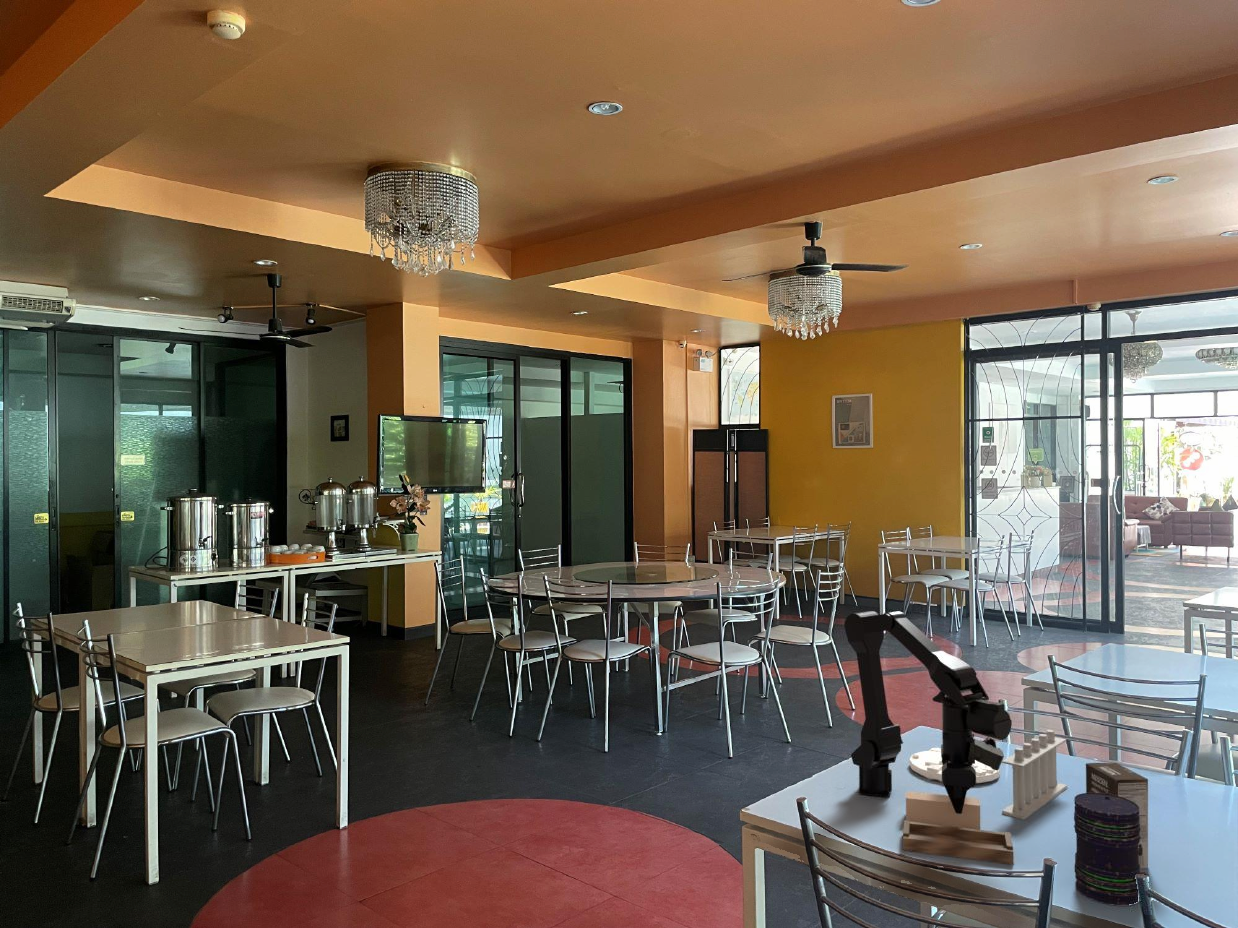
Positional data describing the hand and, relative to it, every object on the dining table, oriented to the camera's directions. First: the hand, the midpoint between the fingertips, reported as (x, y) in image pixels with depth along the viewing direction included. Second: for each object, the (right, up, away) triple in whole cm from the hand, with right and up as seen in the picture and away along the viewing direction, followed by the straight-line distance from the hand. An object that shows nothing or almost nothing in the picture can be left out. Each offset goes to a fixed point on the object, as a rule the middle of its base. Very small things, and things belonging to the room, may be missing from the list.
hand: (958, 804), depth 179 cm
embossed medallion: (+11, -4, +31) cm, 33 cm away
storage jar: (+14, -4, -29) cm, 33 cm away
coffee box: (+23, -4, -16) cm, 28 cm away
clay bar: (-3, -4, +1) cm, 5 cm away
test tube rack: (+21, -4, +12) cm, 25 cm away
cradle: (-5, -4, -12) cm, 13 cm away
